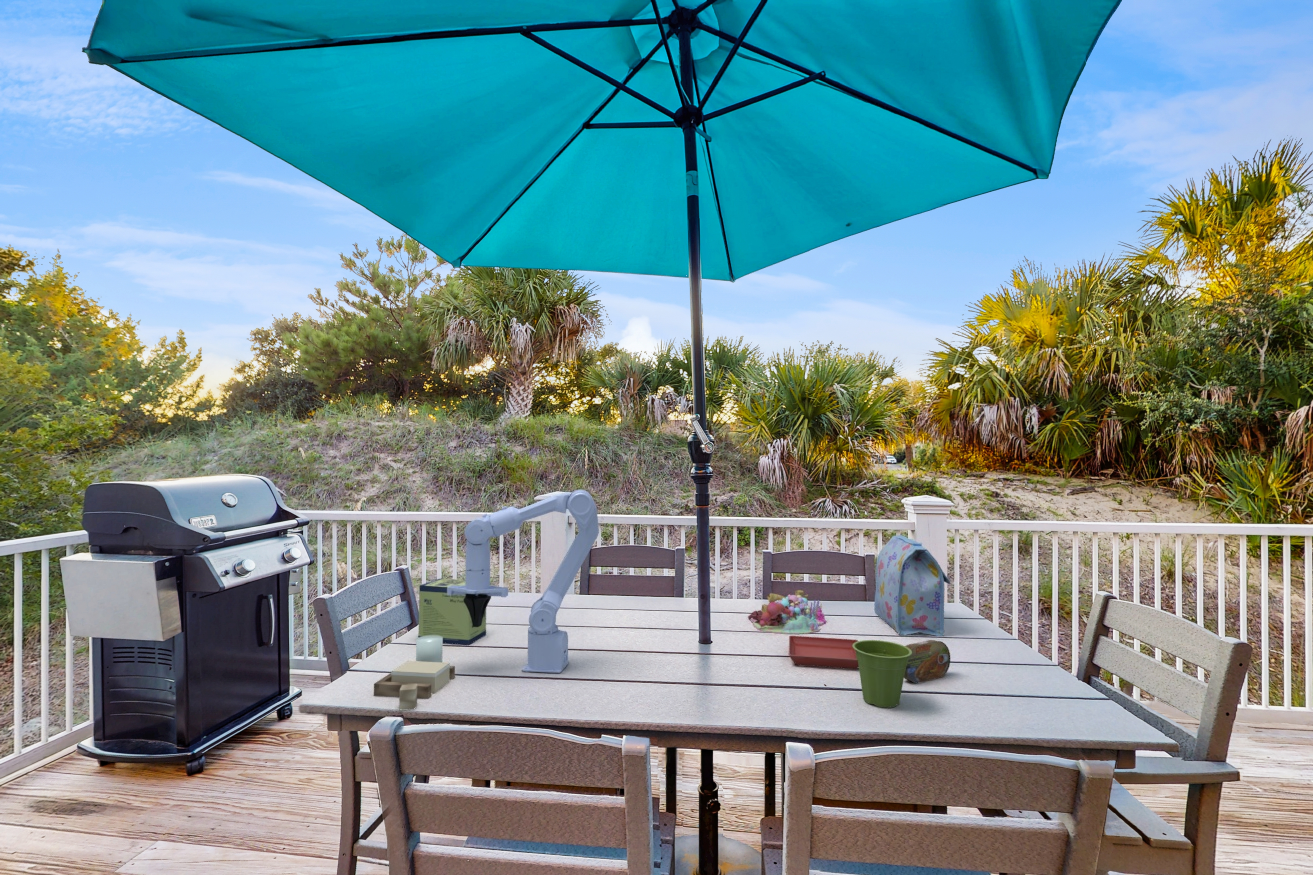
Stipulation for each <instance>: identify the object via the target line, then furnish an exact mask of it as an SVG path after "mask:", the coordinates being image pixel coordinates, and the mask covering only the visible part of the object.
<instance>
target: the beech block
mask: <svg viewBox="0 0 1313 875" xmlns="http://www.w3.org/2000/svg"><path fill="white" fill-rule="evenodd" d="M398 698H399V703H398V704H399V705H398V708H399V709H408V710H415V709H416V708H415V707H417V704H418V698H417V684H410V685H402V686H401V688H400V695H399V697H398ZM414 708H415V709H414Z"/></svg>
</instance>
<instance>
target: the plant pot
mask: <svg viewBox="0 0 1313 875" xmlns="http://www.w3.org/2000/svg"><path fill="white" fill-rule="evenodd" d="M852 646H853V648H854V649H855V652H856V658H857V660H858V666H859V667H858V671H859V678H860V685H861V693H862V699H863V701H864V702H865V703H867V704H870V705H872V704H873V705H875V706H876V707H879V708H889V709H890V708H895V707H896V706H897V705H900V702H901V701H900V700H901V696H902V691H903V685H904V679H905V678H904V675H905V669H906V666H907V664H908V659H909V656H911V654H912V651H911V650H910V649H909V648H908V647H906V645H903V644H900V643H897V642H893V641H889V640H888V641H887V640H881V639H879V640H877V639H876V640H875V639H863V640H858V642H855V643H854V644H853V645H852Z"/></svg>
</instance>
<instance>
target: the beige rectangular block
mask: <svg viewBox="0 0 1313 875" xmlns="http://www.w3.org/2000/svg"><path fill="white" fill-rule="evenodd" d="M450 666H451V662H443V661H442V662H422V661H416V660H407V661H406V662H404V663H402V664H401V665H398V666H397V667H396V668H394V669H393V670H392V671H391V672H390V673H391V675H392V682H401V683H420V684H432V686H431V694H436V693H437V692H439V691H440V690H441V689H442V688H443V687H445V686H447V684H448V683H450V679H449V672H450Z"/></svg>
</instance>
